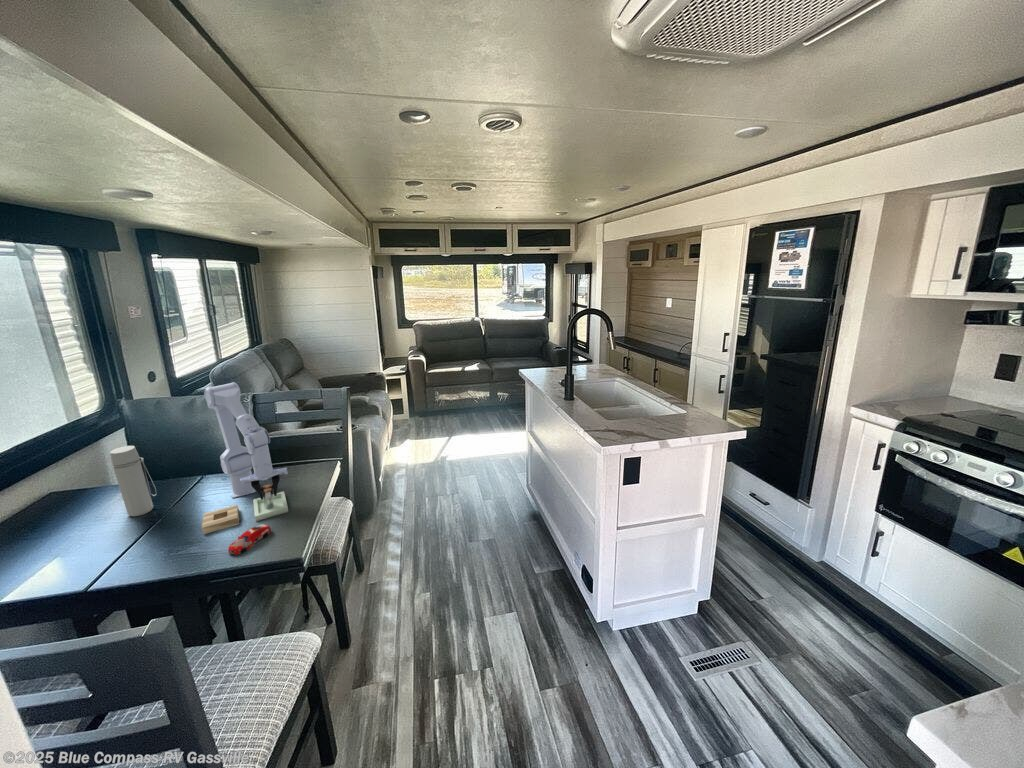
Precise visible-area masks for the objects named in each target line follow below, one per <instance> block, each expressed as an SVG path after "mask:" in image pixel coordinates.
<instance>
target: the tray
mask: <svg viewBox="0 0 1024 768" xmlns="http://www.w3.org/2000/svg"><path fill="white" fill-rule="evenodd" d="M272 495H273V504H274V506H273V507H272V508H269V509H266V508H265V504H264V496H263V499H262V500H261V498H260V497H257V498H254V499H253V500H252V501H253V511H254V518H255V522H259V521H261V520H263V521H264V520H266V519H269V518H272V517H277V516H279V515H283V514H286V513H289V508H288V503H287V499H286V498H287V497H286V494H285V491H284V490H283V491H280V492H277V496H274V493H272Z"/></svg>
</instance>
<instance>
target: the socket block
mask: <svg viewBox="0 0 1024 768" xmlns="http://www.w3.org/2000/svg"><path fill="white" fill-rule="evenodd" d="M237 525H240V510H239V505H238V504H235V505H231V506H228V507H227V506H226V507H223V508H220V509H215V510H213V511H209V512H205V513H204V512H203V516H202V525H201V529H202V533H203V535H207V534H210V533H214V532H217V531H219V530H223V529H227V528H230V527H234V526H237Z"/></svg>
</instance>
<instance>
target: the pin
mask: <svg viewBox="0 0 1024 768" xmlns="http://www.w3.org/2000/svg"><path fill="white" fill-rule="evenodd" d="M260 487H261V491H262V494H263V497H264V504H265V508H266V509H269V508H272V507H273V506H274V504H273V495H272V494H273V491H274V490H273V484H264V485H262V486H260Z"/></svg>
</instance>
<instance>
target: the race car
mask: <svg viewBox="0 0 1024 768" xmlns="http://www.w3.org/2000/svg"><path fill="white" fill-rule="evenodd" d="M271 533H272V528H271V527H270V525H269V524H265V523H262V524H258V525H255V526H253V527H251V528H248V530H246V531H244V532H242V534H241V535H240V536H237V539H236V540H235V541H233V542H232V543H231V544H230V545H229V546H228V548H227V549H228V553H229V555H231V556H237V555H241V554H242V555H243V554H244V553H246V552H247V551H248V550H249V549H251V548H252V547H254V546H255V545H257V544H258V543H260V542H261V541H262V540H264V539H266V538H268V536H270V534H271Z"/></svg>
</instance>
